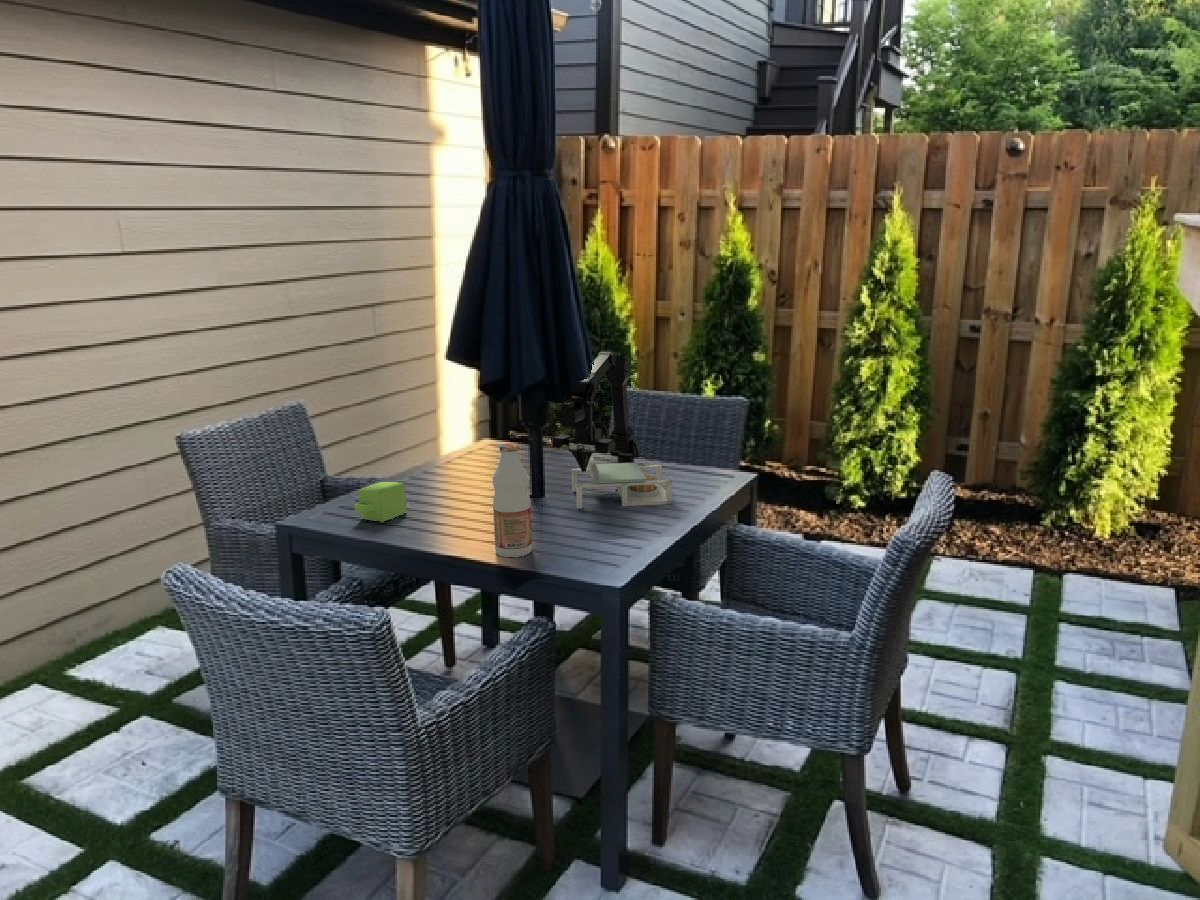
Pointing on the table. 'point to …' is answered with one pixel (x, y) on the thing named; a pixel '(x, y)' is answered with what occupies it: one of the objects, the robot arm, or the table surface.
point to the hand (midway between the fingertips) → (583, 471)
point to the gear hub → (644, 487)
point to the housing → (631, 489)
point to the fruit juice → (511, 505)
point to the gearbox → (382, 501)
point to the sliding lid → (615, 472)
